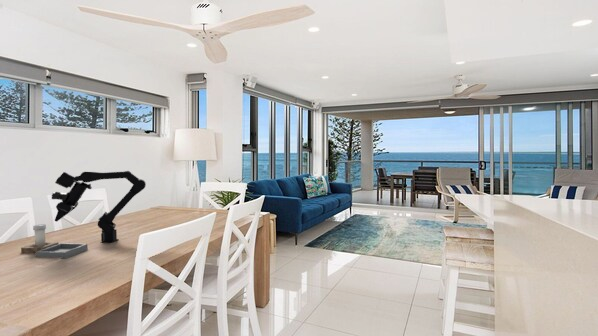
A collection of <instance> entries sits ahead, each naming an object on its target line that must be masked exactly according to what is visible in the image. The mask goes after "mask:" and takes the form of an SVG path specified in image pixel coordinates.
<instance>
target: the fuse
mask: <svg viewBox="0 0 598 336" xmlns="http://www.w3.org/2000/svg"><path fill="white" fill-rule="evenodd" d="M32 228H33V229H32V231H34V244H35V247H42V246H45V245H46V242H47V241H46V229H47V225H46V224H45V223H44V224H34V225H33V226H32Z"/></svg>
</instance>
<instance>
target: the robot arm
mask: <svg viewBox="0 0 598 336" xmlns="http://www.w3.org/2000/svg"><path fill="white" fill-rule="evenodd" d="M112 179H113V180H114V179H116V180H117V179H126V180H127V181H128V182H130V184H132V186H131V188H130V189H129V191H128V192H127V193H126V194H125V195H124V196H123V197H122V198H121V199H120V201H118V202H117V204H115V206H113V208H112V209H111V210H110V211H109V212H107V211H105V212H104V213H103V214H102V216H100V217H99V218H98V221H97V227H98V228H99V229H101V234H100V236H101V237H100V239H101V242H100V241H99V243H100V244H101V243H103V244H107V243H108V244H112V243H114V242H116V241H119V238H117V237H118V235H117V229H116V226H117V224H116V223H115V222H113V221H114V219H116V217H117V216H118V214H119V213H120V212H121V211H122V210H123V209H124V208H125V207H126V206H127V205H128V203H129V202H131V200H132V199H133V198H134V197H135V196H136V195H138V194H140V192H142V191H143V190H144V189H145V188H146V183H147V182H146V181H145V180H144V179H141V178H139V177H137V176H136V175H134V174H133V173H132V172H131V171H129V170H123V171H107V172H104V171H103V172H102V171H94V170H93V171H92V170H85V171H82V172H81V173H80V174H79V175H77V176H76V175H75V176H74V175H71V174H70V173H67V172H66V171H65V172H64V171H63V173H62V174H60V176H59V177H57V179H56V181H55V184H57V185H59V187H63V188H65V189H68V188H70V190H69V191H68V192H66V193H65V192H60V191H53V192H52V194H51V200H60V202H58V203H57V204H56V207H55V208H56V210H57V213H56V216H55V218H54V221H55V222H58V221H60V220H61V219H63V218H64V217H65V216H66V215H68V214H69V213H70V212H72V211H73V210H75V209H76V208H77V207H78V206H79V202H78V201H80V199H81V198H82V197H83V194H84V193H85V192H86V190H87V189H89V190H91V189H92V188H93V187H92V184H91V183H90V182H96V181H100V180H112ZM88 183H89V184H88Z"/></svg>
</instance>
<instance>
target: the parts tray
mask: <svg viewBox="0 0 598 336" xmlns="http://www.w3.org/2000/svg"><path fill="white" fill-rule="evenodd" d="M87 250H88V243H70V242H69V243H66V242H65V243H63V242H60V243H59V244H57V245H54V246H51V247H49V248H46V249H43V250H40V251H37V252H36V253H35V258H60V260H61V259H62V260H64V259H65V260H66V259H68V258H70V257H72V256H75V255H77V254H80V253H83V252H85V251H87Z"/></svg>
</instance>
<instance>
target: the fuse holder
mask: <svg viewBox="0 0 598 336" xmlns="http://www.w3.org/2000/svg"><path fill="white" fill-rule="evenodd" d="M57 244H60V243H59V241H57V242H56V241H55V242H53V241H46V245H45V246H42V247H35V243H32V244H28V245H26V246H23V247H20V249H21V250H20V251H21V252H20V253H22V254H36V252H37V251H40V250H43V249H46V248H49V247H51V246H54V245H57Z"/></svg>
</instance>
